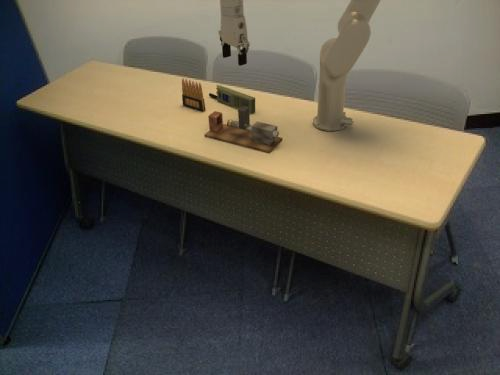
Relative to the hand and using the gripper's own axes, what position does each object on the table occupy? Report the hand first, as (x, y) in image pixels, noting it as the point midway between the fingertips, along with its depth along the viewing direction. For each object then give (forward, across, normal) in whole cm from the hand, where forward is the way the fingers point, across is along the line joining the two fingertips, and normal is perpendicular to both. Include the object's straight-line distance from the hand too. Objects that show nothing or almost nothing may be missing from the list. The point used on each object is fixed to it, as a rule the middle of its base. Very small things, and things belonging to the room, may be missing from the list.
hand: (234, 60), depth 166 cm
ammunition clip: (+25, +23, +6) cm, 35 cm away
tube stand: (+25, -10, +4) cm, 27 cm away
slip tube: (+21, -13, +3) cm, 25 cm away
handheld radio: (+26, +16, -8) cm, 31 cm away
